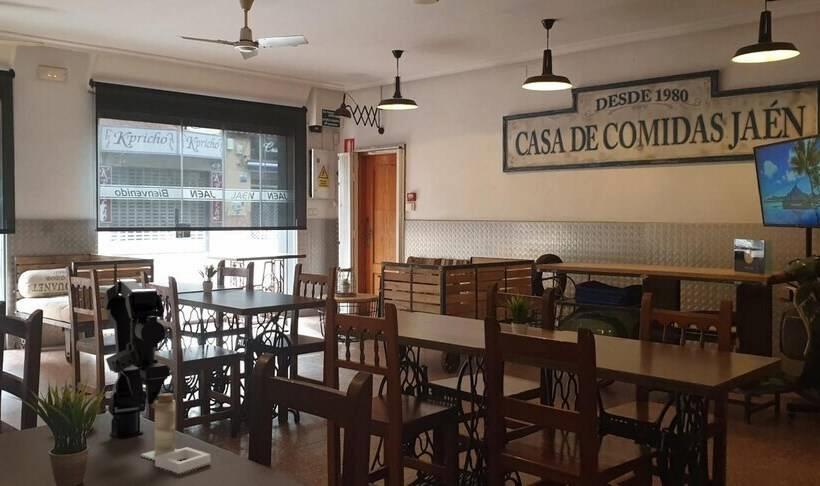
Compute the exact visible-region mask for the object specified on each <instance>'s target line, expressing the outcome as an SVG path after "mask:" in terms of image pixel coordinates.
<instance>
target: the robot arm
mask: <svg viewBox="0 0 820 486" xmlns="http://www.w3.org/2000/svg"><path fill="white" fill-rule="evenodd" d="M103 309H104V311H106V319H108V320H109V322H110V323H111V324H112V325H113V330H114V341H115V354H113V355H111V356H109V357H107V358H106V359H105V361H106V363H107V366H108V369H109V371H110V372H114V373H115V374H116V373H117V379H116V381H115V382H114V384H113V386H112V392H111V393H110V397H109V401H108V405H107V406H108V413H109V414H110V415H111V416H112V418H111V424H110V426H111V431H110V432H109V436H113V437H116V438H119V439H123V440H125V439H127V438H131V437H132V438H133V437H134V436H139V435H143V434H144V431H142V430H141V412H145V411H146V405H153V404H154V403H155V401H156V397H158V395H159V393H160V390H161V389H162V386H163V385H164V383H165V381H166V380H168V377H170V376H171V367H169V365H168V364H164V363H162V362H160V363H159V362H158V361H159V359H158V358H156V357H155V356H156V354H155V353H156V351H155V349H156V348H158V347H159V344H160V343H161V342H162V341H163V340H164V339H165V336H166V329H165V326H164V325H163V324H162V323H161V322H159V321H158V318H163V317H164V313H165V307H164V303H163V300H162V297H161V295H160V294H159V293H158V291H157V289H155V288H144V287H143V286H142V285H140V284H139V283H138V281H137V279H134V278H119V279H116V280H115V283H114V285H113V286H111V287H110V288H108V289H107V290H106V292H105V295H104V299H103ZM143 383H144V384H143ZM144 385H145V389H144Z"/></svg>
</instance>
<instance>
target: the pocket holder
mask: <svg viewBox="0 0 820 486" xmlns="http://www.w3.org/2000/svg"><path fill="white" fill-rule="evenodd" d="M177 449H178V448H177ZM185 457H186V458H189V459H187V460H186V459H185V460H182V461H177V460H179V459H183V458H185ZM209 462H210V463H211V454H210V453H208V452H204V451H201V450H197V449H195V448H191V447H187V446H186V447H183V448H179V449H178V450H175V451H171V452H168V453H164V454H161V455H157V456H155V461H154V466H158V467H161V468H165V469H169V470H172V471H174V472H177V473H180V472H183V471H186V470H189V469H192V468H195V467H197V466H200V465H203V464H206V463H209ZM158 467H157V468H158ZM161 468H160V469H161Z"/></svg>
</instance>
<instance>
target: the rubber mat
mask: <svg viewBox="0 0 820 486" xmlns="http://www.w3.org/2000/svg"><path fill="white" fill-rule="evenodd" d="M175 450H178V448H175ZM141 456H142V457H141ZM155 456H156V455H155V449H154V450H152V451H151V450H150V451H148V452H144V453H141V454H140V457H141V458H144V457H145V458H144V459H147V458H148V459H147V460H150V459H152V460H151V461H153V460H155Z"/></svg>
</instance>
